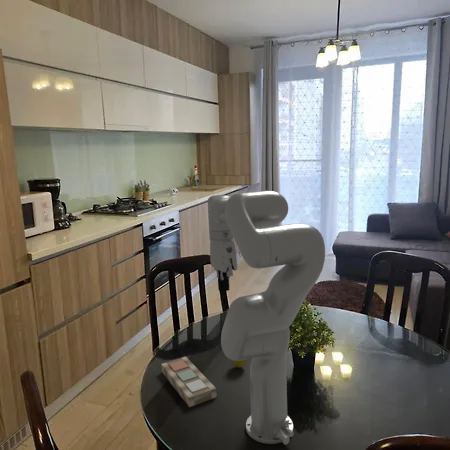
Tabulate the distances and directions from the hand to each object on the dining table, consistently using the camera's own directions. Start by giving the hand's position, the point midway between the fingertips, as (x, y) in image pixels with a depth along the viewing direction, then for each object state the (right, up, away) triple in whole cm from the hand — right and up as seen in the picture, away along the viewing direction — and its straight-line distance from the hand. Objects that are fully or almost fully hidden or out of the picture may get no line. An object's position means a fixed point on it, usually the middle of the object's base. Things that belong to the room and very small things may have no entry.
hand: (223, 290), depth 133 cm
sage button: (-12, -30, 0) cm, 32 cm away
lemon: (+5, -28, +9) cm, 30 cm away
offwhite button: (-8, -31, -6) cm, 32 cm away
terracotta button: (-15, -29, +6) cm, 33 cm away
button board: (-12, -30, 0) cm, 32 cm away
